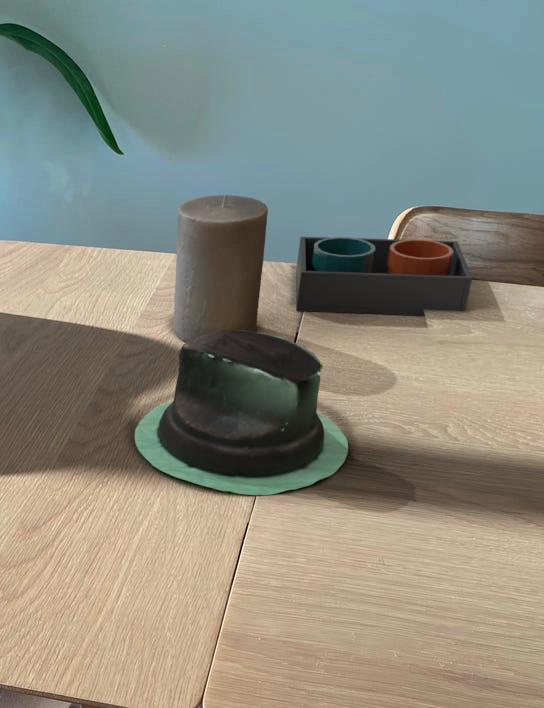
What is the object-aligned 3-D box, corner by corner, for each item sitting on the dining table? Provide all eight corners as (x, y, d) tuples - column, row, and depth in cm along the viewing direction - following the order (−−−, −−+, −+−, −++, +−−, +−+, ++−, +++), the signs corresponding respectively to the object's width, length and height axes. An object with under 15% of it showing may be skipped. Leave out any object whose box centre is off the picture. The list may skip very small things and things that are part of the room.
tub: (449, 278, 124) (457, 241, 121) (463, 317, 114) (472, 278, 111) (295, 272, 127) (300, 236, 124) (296, 311, 117) (301, 272, 114)
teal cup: (366, 278, 123) (373, 237, 120) (369, 299, 118) (377, 257, 114) (308, 276, 124) (313, 236, 121) (308, 297, 119) (314, 255, 116)
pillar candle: (273, 329, 113) (288, 192, 103) (222, 355, 108) (234, 213, 98) (205, 309, 118) (214, 176, 109) (154, 333, 113) (159, 196, 103)
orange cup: (440, 281, 122) (449, 240, 119) (447, 302, 116) (456, 260, 113) (380, 279, 123) (388, 238, 120) (384, 300, 117) (392, 257, 114)
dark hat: (382, 408, 95) (327, 514, 82) (217, 456, 107) (146, 555, 93) (327, 263, 89) (258, 352, 76) (159, 330, 101) (74, 417, 87)
